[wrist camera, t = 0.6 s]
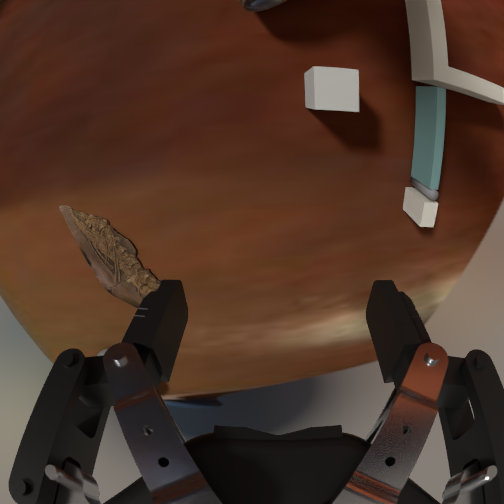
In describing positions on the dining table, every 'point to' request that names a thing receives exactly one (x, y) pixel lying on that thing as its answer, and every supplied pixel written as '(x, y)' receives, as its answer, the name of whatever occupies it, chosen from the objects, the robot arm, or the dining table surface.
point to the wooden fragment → (110, 257)
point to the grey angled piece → (437, 83)
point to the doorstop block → (332, 89)
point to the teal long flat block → (428, 139)
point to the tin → (259, 4)
